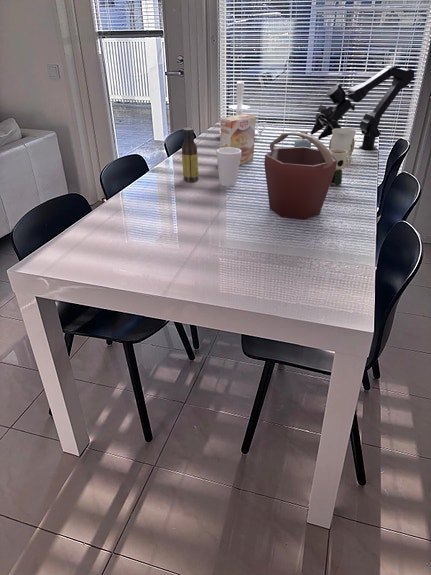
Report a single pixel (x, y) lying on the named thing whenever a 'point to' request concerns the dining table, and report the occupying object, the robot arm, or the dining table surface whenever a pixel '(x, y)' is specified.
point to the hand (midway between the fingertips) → (314, 136)
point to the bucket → (298, 178)
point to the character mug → (339, 164)
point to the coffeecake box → (239, 135)
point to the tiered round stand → (302, 143)
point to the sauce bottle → (189, 156)
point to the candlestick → (241, 107)
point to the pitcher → (343, 140)
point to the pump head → (304, 132)
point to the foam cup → (228, 165)
